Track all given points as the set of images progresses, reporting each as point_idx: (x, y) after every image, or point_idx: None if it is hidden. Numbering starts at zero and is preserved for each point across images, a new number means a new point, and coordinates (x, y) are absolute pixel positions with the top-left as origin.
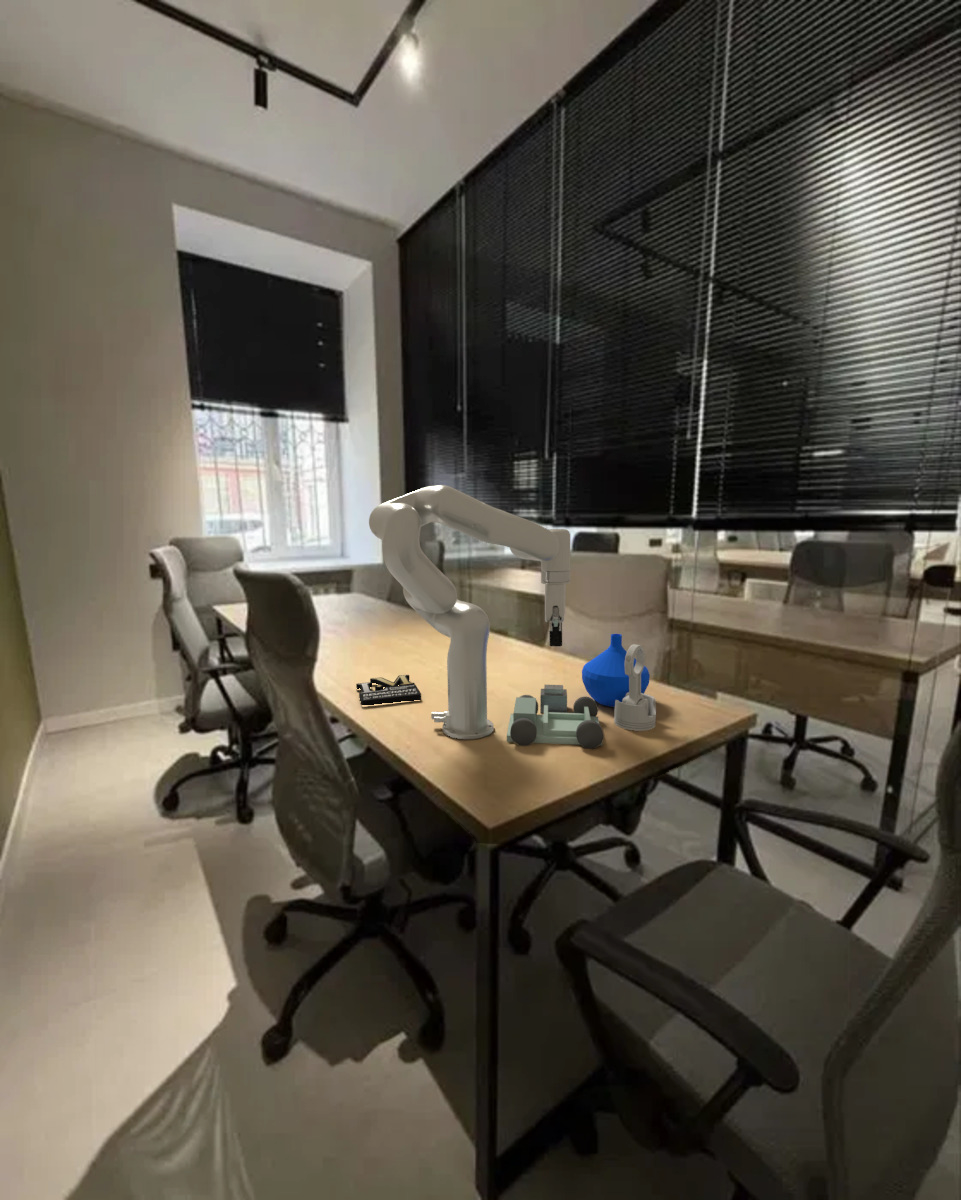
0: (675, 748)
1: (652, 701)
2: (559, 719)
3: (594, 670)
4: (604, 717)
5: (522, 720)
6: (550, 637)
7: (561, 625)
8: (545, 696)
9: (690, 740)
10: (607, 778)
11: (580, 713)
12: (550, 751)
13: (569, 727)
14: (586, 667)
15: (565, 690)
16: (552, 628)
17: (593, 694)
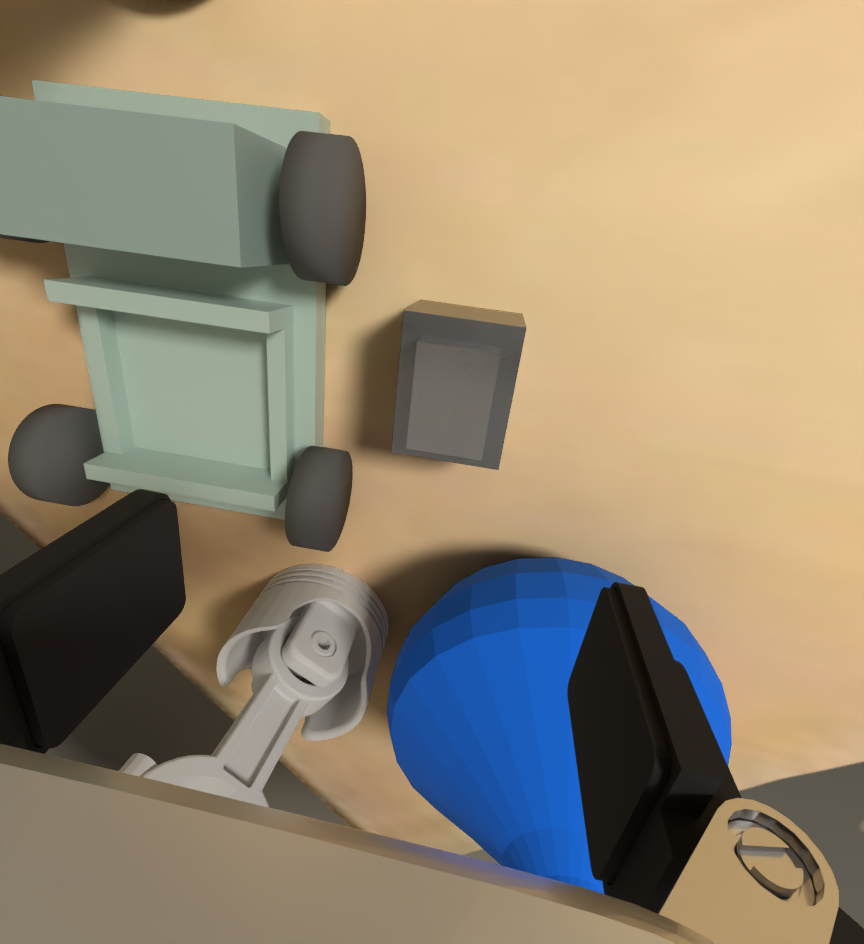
0: (158, 649)
1: (311, 723)
2: (265, 373)
3: (475, 660)
4: (370, 547)
5: None
6: (56, 553)
7: (589, 846)
8: (402, 339)
9: (216, 696)
10: None
11: (284, 469)
12: (30, 292)
13: (187, 399)
14: (558, 640)
15: (479, 460)
16: (623, 698)
17: (479, 570)
